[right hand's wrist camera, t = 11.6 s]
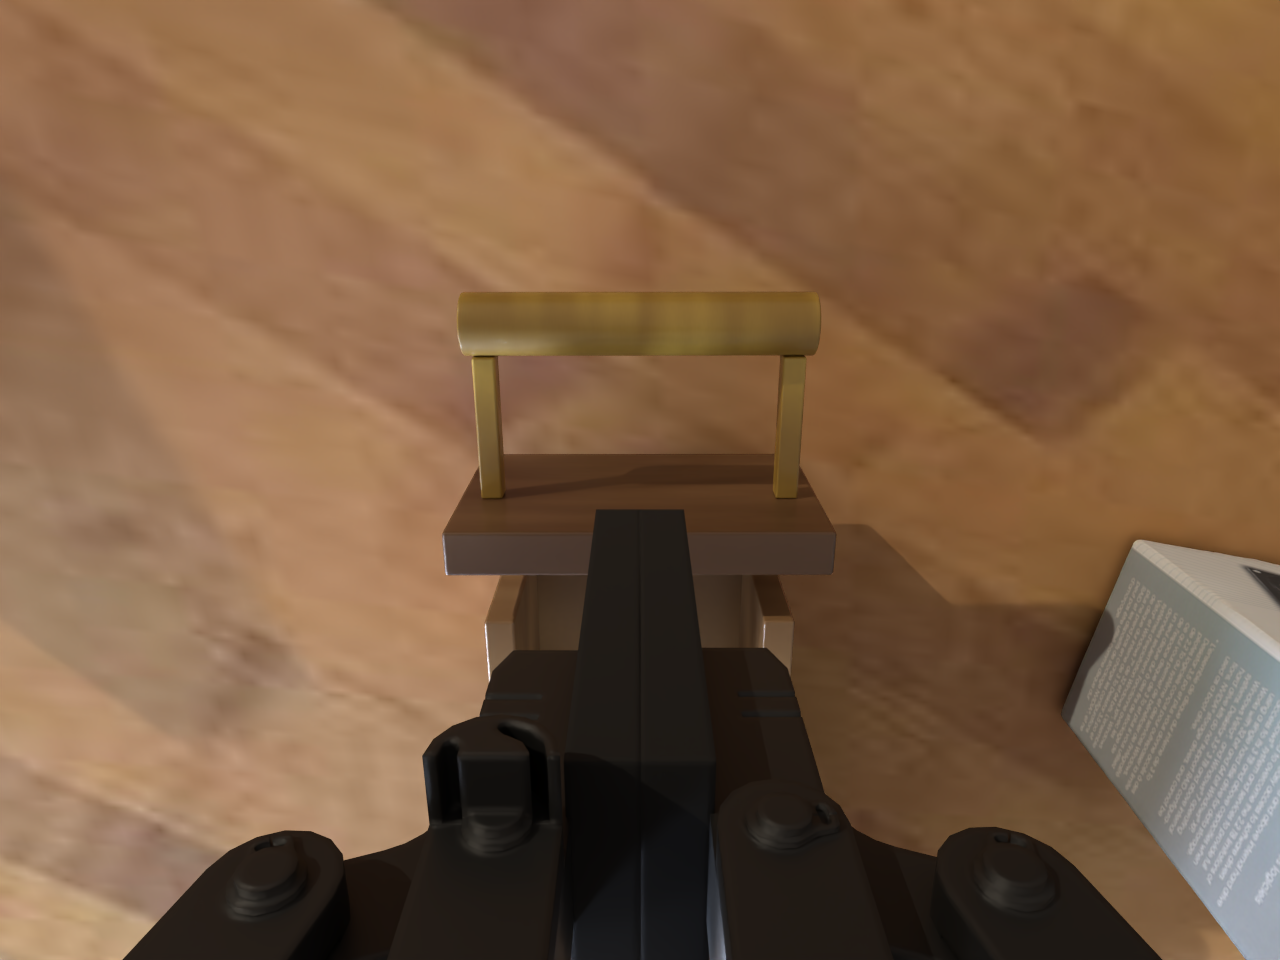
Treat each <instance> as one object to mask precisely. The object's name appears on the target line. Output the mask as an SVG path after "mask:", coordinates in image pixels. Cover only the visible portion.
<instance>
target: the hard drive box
mask: <svg viewBox="0 0 1280 960" xmlns="http://www.w3.org/2000/svg"><path fill="white" fill-rule="evenodd" d="M1061 715H1062V718H1063V719H1064V720H1065V722H1066V723H1067V724H1068V726H1069V727H1070V728H1071V729H1072V731H1073V732H1074V733H1075V735H1076V736H1077V737H1078V739H1079V740H1080V742H1081V743H1082V744H1083V746H1084V747H1085V748H1086V749H1087V751H1088V752H1089V753H1090V755H1091V756H1092V757H1093V759H1094V760H1095V762H1096V763H1097V764H1098V765H1099V767H1100V768H1101V769H1102V770H1103V772H1104V773H1105V774H1106V776H1107V777H1108V779H1109V780H1110V781H1111V782H1112V784H1113V785H1114V786H1115V788H1116V789H1117V790H1118V791H1119V793H1120V794H1121V795H1122V797H1123V798H1124V799H1125V801H1126V802H1127V803H1128V805H1129V806H1130V807H1131V809H1132V810H1133V812H1134V813H1135V814H1136V816H1137V817H1138V818H1139V820H1140V821H1141V822H1142V824H1143V825H1144V826H1145V827H1146V829H1147V830H1148V831H1149V832H1150V834H1151V835H1152V836H1153V838H1154V839H1155V840H1156V842H1157V843H1158V845H1159V846H1160V847H1161V849H1162V850H1163V851H1164V853H1165V854H1166V855H1167V857H1168V858H1169V859H1170V861H1171V862H1172V863H1173V865H1174V866H1175V867H1176V868H1177V870H1178V871H1179V872H1180V873H1181V875H1182V876H1183V877H1184V878H1185V880H1186V881H1187V882H1188V884H1189V885H1190V886H1191V888H1192V889H1193V890H1194V892H1195V893H1196V894H1197V895H1198V897H1199V898H1200V899H1201V901H1202V902H1203V903H1204V905H1205V906H1206V907H1207V909H1208V910H1209V911H1210V913H1211V914H1212V915H1213V917H1214V918H1215V919H1216V921H1217V922H1218V923H1219V925H1220V926H1221V927H1222V929H1223V930H1224V931H1225V933H1226V934H1227V935H1228V937H1229V938H1230V939H1231V941H1232V942H1233V943H1234V945H1235V946H1236V947H1237V949H1238V950H1239V951H1240V953H1241V954H1242V955H1243V957H1244V958H1245V959H1246V960H1280V565H1277V564H1272V563H1268V562H1264V561H1261V560H1257V559H1251V558H1243V557H1237V556H1232V555H1227V554H1222V553H1216V552H1210V551H1203V550H1197V549H1191V548H1185V547H1180V546H1174V545H1168V544H1163V543H1157V542H1152V541H1147V540H1136V541H1135V542H1134V543H1133V545H1132V547H1131V550H1130V552H1129V554H1128V556H1127V558H1126V561H1125V563H1124V565H1123V568H1122V570H1121V572H1120V575H1119V577H1118V580H1117V582H1116V584H1115V587H1114V589H1113V591H1112V593H1111V596H1110V598H1109V600H1108V603H1107V605H1106V607H1105V609H1104V612H1103V614H1102V616H1101V618H1100V621H1099V623H1098V626H1097V628H1096V630H1095V633H1094V635H1093V637H1092V640H1091V642H1090V644H1089V647H1088V649H1087V651H1086V653H1085V656H1084V658H1083V660H1082V663H1081V665H1080V668H1079V670H1078V673H1077V675H1076V677H1075V680H1074V682H1073V685H1072V687H1071V689H1070V692H1069V694H1068V697H1067V699H1066V701H1065V704H1064V706H1063V708H1062V712H1061Z"/></svg>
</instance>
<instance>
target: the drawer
mask: <svg viewBox="0 0 1280 960" xmlns="http://www.w3.org/2000/svg"><path fill="white" fill-rule="evenodd" d="M820 331H821V306H820V300H819V296H818V294H817V293H816V292H463V293H461V294H460V297H459V300H458V306H457V333H458V340H459V345H460V349H461V351H462V353H463V355H465V356H474V357H473V358H472V372H473V387H474V401H475V415H476V430H477V444H478V458H479V467H478V469H477V470H476V472H475V474H474V476H473V478H472V480H471V481H470V483H469V485H468V487H467V489H466V491H465V493H464V494H463V496H462V498H461V500H460V502H459V504H458V505H457V507H456V509H455V511H454V513H453V515H452V516H451V518H450V520H449V522H448V524H447V526H446V528H445V529H444V531H443V533H442V540H443V551H444V563H445V572H446V574H447V575H501V576H500V579H499V582H498V585H497V588H496V591H495V594H494V597H493V600H492V603H491V606H490V608H489V611H488V614H487V617H486V620H485V637H486V651H487V664H488V678H489V681H490V678H491V674H492V671H493V670H494V669H495V668H496V667H497V666H498V665H499V664H500V663H501V662H502V661H503V660H504V659H505V658H506V657H507V656H508V655H509V654H510V653H511V652H512V651H513V650H578V646H579V638H580V630H581V623H582V615H583V607H584V599H585V591H586V584H587V576H588V568H589V560H590V553H591V545H592V537H593V529H594V521H595V514H596V509H684V514H685V521H686V529H687V537H688V545H689V553H690V560H691V568H692V576H693V584H694V591H695V599H696V607H697V615H698V623H699V630H700V638H701V646H702V648H768V649H769V650H770V651H771V652H772V653H773V654H774V655H775V656H776V657H777V658H778V659H779V660H780V661H781V662H782V663H783V664H784V665H785V666H786V667H787V668H788V671H789V674H790V678H791V664H792V650H793V635H794V620H793V617H792V614H791V611H790V608H789V605H788V602H787V599H786V596H785V593H784V590H783V588H782V585H781V582H780V579H779V576H778V575H831V574H832V573H833V568H834V556H835V544H836V532H835V530H834V528H833V526H832V525H831V523H830V521H829V519H828V517H827V515H826V513H825V512H824V510H823V508H822V506H821V504H820V502H819V500H818V499H817V497H816V495H815V493H814V491H813V489H812V487H811V486H810V484H809V482H808V480H807V478H806V476H805V474H804V473H803V471H802V469H801V467H800V450H801V435H802V420H803V405H804V390H805V375H806V360H807V359H806V357H805V356H804V355H814V354H815V353H816V351H817V348H818V345H819V340H820ZM719 355H780V370H779V388H778V405H777V423H776V441H775V454H503V437H502V420H501V403H500V386H499V369H498V356H719Z"/></svg>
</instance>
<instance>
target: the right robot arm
mask: <svg viewBox="0 0 1280 960" xmlns="http://www.w3.org/2000/svg"><path fill="white" fill-rule="evenodd" d="M485 696H486V697H485V700H484V702H483V705H482V709H481V712H480V717H475V718H473V719H470V720H467V721H464V722H462V723H459V724H456V725H453V726H451V727H450V728H449V729H447V730H446V731H444V732H443V733H442V734H440V735H439V736H437V737H436V738H435V739H433V741H432V742H431V744H430V745H429V747H428V748H427V750H426V751H425V753H424V754H423V756H422V757H423V767H424V776H425V785H426V795H427V804H428V814H429V823H430V825H429V828H428V831H426V832H425V833H424V834H422V835H420V836H418V837H416V838H415V839H413V840H411V841H409V842H407V843H405V844H402V845H399V846H396V847H393V848H390V849H387V850H384V851H380V852H376V853H372V854H368V855H364V856H360V857H356V858H352V859H348V860H344V861H343V854H342V853H341V852H340V850H339V849H338V848H337V847H336V845H335V844H334V843H333V841H332V840H331V839H329V838H326V837H324V836H321V835H319V834H316V833H314V832H311V831H281V832H277V833H273V834H268V835H264V836H260V837H256V838H254V839H252V840H250V841H248V842H246V843H244V844H242V845H240V846H238V847H236V848H234V849H232V850H230V851H228V852H227V853H226V854H225V855H223V856H222V857H221V858H220V859H219V860H217V861H216V862H215V863H214V864H213V865H211V866H210V867H209V868H208V869H206V871H205V872H204V873H203V874H202V875H201V876H200V877H199V878H198V879H197V880H196V881H195V882H194V883H193V885H192V886H191V887H190V888H189V889H188V890H187V891H186V892H185V893H184V894H183V895H182V896H181V897H180V898H179V900H178V901H177V902H176V903H175V904H174V905H173V906H172V907H171V908H170V909H169V910H168V911H167V912H166V914H165V915H164V916H163V917H162V918H161V919H160V920H159V921H158V922H157V923H156V924H155V925H154V926H153V928H152V929H151V930H150V931H149V932H148V933H147V934H146V935H145V936H144V937H143V938H142V939H141V940H140V941H139V943H138V944H137V945H136V946H135V947H134V948H133V949H132V950H131V951H130V952H129V953H128V954H127V955H126V957H125V958H124V959H123V960H709V957H710V960H1162V959H1161V958H1160V957H1159V956H1158V955H1157V954H1156V952H1155V951H1154V950H1153V949H1152V948H1151V947H1150V946H1149V945H1148V944H1147V943H1146V942H1145V941H1144V940H1143V939H1142V938H1141V936H1140V935H1139V934H1138V933H1137V932H1136V931H1135V930H1134V929H1133V928H1132V927H1131V926H1130V925H1129V924H1128V923H1127V921H1126V920H1125V919H1124V918H1123V917H1122V916H1121V915H1120V914H1119V913H1118V912H1117V911H1116V910H1115V909H1114V908H1113V907H1112V905H1111V904H1110V903H1109V902H1108V901H1107V900H1106V899H1105V898H1104V897H1103V896H1102V895H1101V894H1100V893H1099V892H1098V891H1097V889H1096V888H1095V887H1094V886H1093V885H1092V884H1091V883H1090V882H1089V881H1088V880H1087V879H1086V878H1085V877H1084V876H1083V875H1082V873H1081V872H1080V871H1079V870H1078V869H1077V868H1076V867H1075V866H1074V865H1073V864H1072V863H1070V862H1069V861H1068V860H1067V859H1065V858H1064V857H1063V856H1062V855H1061V854H1059V853H1058V852H1057V851H1056V850H1054V849H1053V848H1052V847H1050V846H1048V845H1046V844H1044V843H1042V842H1040V841H1038V840H1036V839H1034V838H1032V837H1030V836H1028V835H1026V834H1023V833H1019V832H1015V831H1011V830H1006V829H1002V828H998V827H977V828H968V829H965V830H963V831H960V832H958V833H955V834H953V835H950V836H949V837H948V839H947V840H946V841H945V842H944V844H943V845H942V846H941V847H940V849H939V850H938V854H937V857H934V856H930V855H926V854H922V853H918V852H914V851H910V850H906V849H902V848H898V847H894V846H891V845H888V844H885V843H882V842H879V841H876V840H874V839H872V838H870V837H868V836H866V835H864V834H863V833H861V832H859V831H857V830H856V829H854V828H853V827H852V826H851V824H850V822H849V820H848V819H847V817H846V815H845V814H844V812H843V810H842V809H841V807H840V806H839V805H838V804H837V803H836V802H834V801H833V800H832V799H831V798H829V797H828V796H827V795H826V794H825V793H824V790H823V786H822V783H821V780H820V776H819V773H818V769H817V766H816V763H815V759H814V756H813V752H812V749H811V746H810V742H809V739H808V735H807V732H806V729H805V725H804V722H803V719H802V717H801V712H800V708H799V705H798V702H797V698H796V697H795V691H794V688H793V685H792V681H791V678H790V674H789V671H788V668H787V667H786V666H785V665H784V664H783V663H782V662H781V661H780V660H779V659H778V658H777V657H776V656H775V655H774V654H773V653H772V652H771V651H770V650H769V649H768V648H702V646H701V638H700V630H699V623H698V615H697V607H696V599H695V591H694V584H693V576H692V568H691V560H690V553H689V545H688V537H687V529H686V521H685V514H684V509H596V514H595V521H594V529H593V537H592V545H591V553H590V560H589V568H588V576H587V584H586V591H585V599H584V607H583V615H582V623H581V630H580V638H579V646H578V650H513V651H512V652H511V653H510V654H509V655H508V656H507V657H506V658H505V659H504V660H503V661H502V662H501V663H500V664H499V665H498V666H497V667H496V668H495V669H494V670H493V671H492V674H491V678H490V681H489V685H488V688H487V691H486V695H485Z"/></svg>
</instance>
